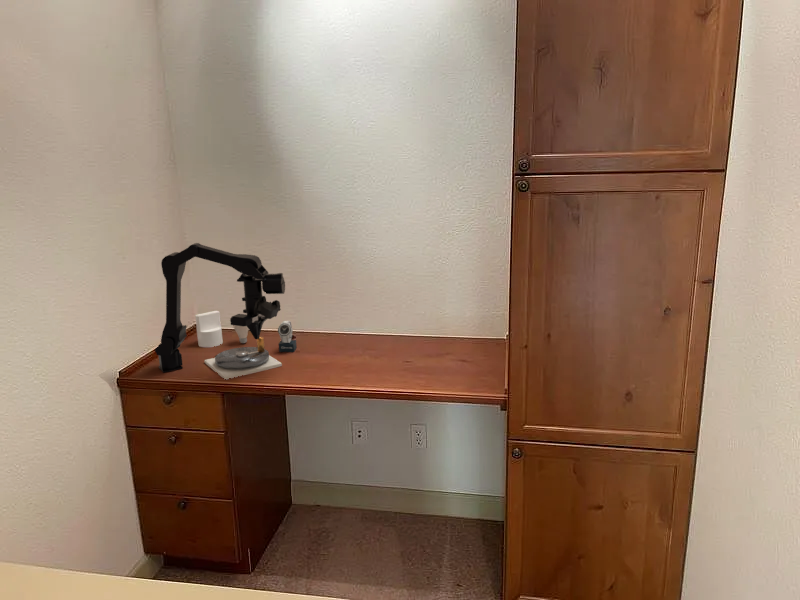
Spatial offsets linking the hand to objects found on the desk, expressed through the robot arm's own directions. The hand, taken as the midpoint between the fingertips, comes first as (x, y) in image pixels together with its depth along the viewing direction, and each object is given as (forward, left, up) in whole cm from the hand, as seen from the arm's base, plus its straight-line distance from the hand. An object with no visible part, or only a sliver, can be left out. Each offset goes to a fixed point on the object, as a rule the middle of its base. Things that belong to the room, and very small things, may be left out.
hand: (256, 338), depth 204 cm
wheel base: (-3, +6, -10) cm, 12 cm away
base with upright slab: (-4, +36, -10) cm, 38 cm away
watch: (+16, +10, -10) cm, 21 cm away
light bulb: (+6, +28, -10) cm, 30 cm away
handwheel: (-3, +6, -8) cm, 11 cm away
